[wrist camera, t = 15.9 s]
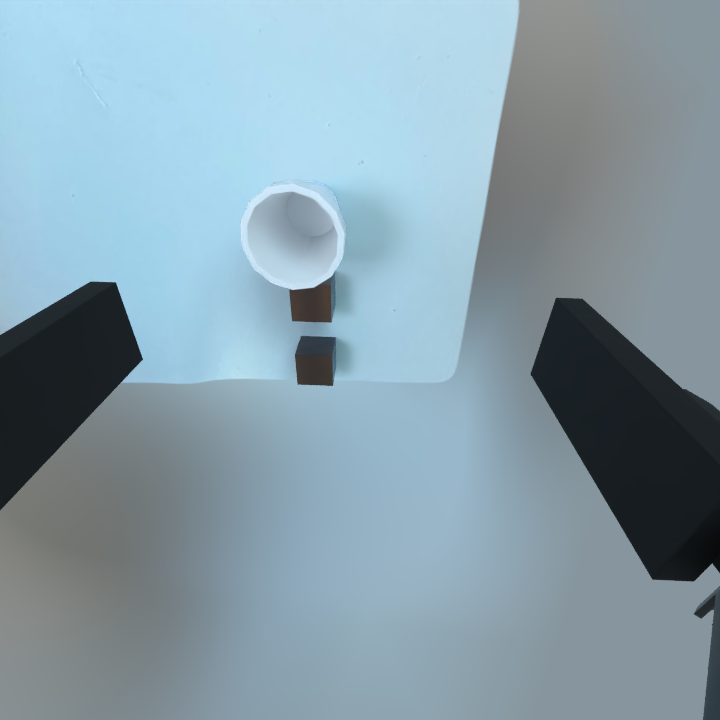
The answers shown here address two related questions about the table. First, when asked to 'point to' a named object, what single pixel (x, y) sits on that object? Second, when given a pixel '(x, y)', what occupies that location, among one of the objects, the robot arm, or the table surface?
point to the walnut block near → (314, 302)
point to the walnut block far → (316, 360)
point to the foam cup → (294, 233)
